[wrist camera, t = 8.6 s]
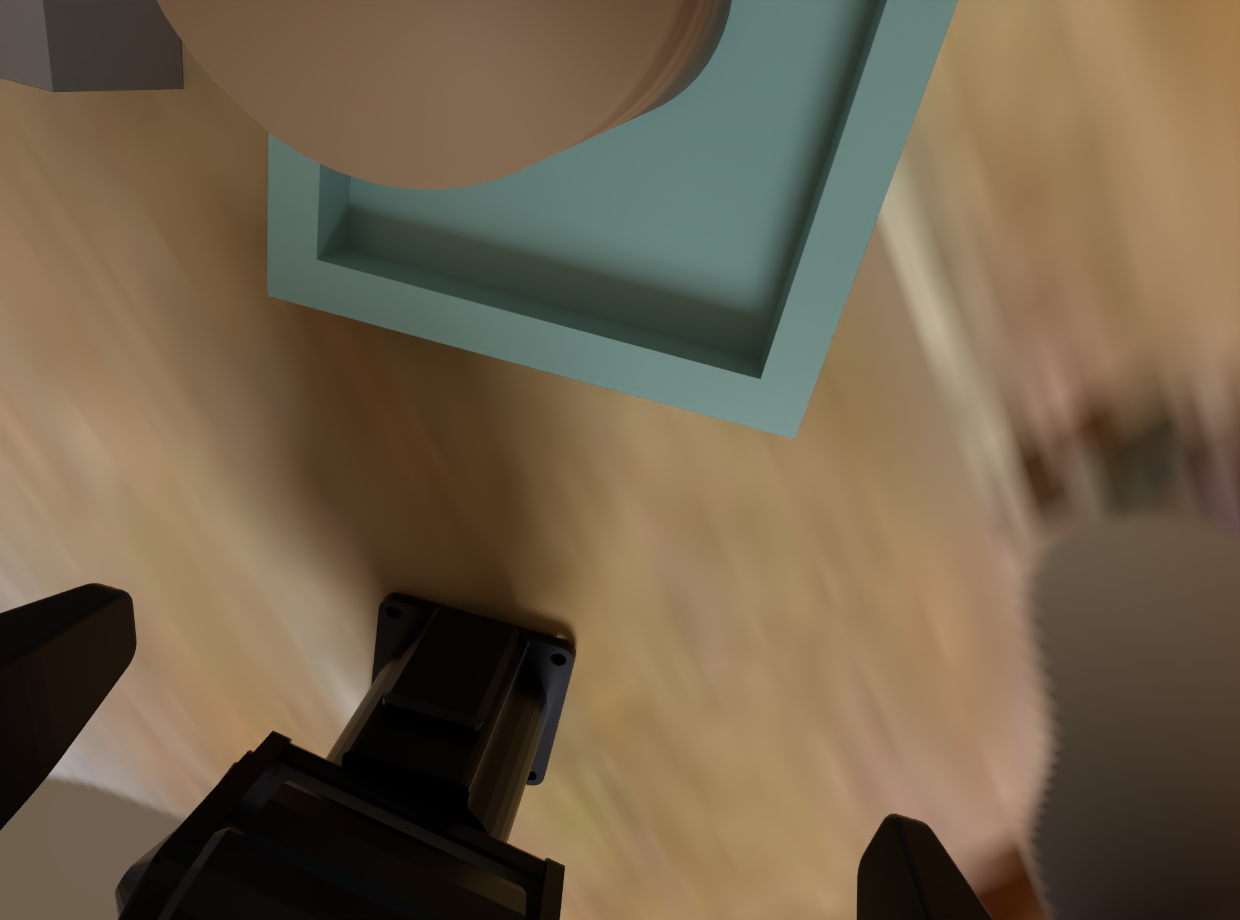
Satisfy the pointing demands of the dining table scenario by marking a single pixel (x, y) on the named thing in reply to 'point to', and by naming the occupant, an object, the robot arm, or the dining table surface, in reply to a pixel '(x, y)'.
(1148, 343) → the dining table surface
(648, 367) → the tray
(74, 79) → the holder
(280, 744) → the robot arm
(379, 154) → the pepper mill
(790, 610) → the dining table surface
